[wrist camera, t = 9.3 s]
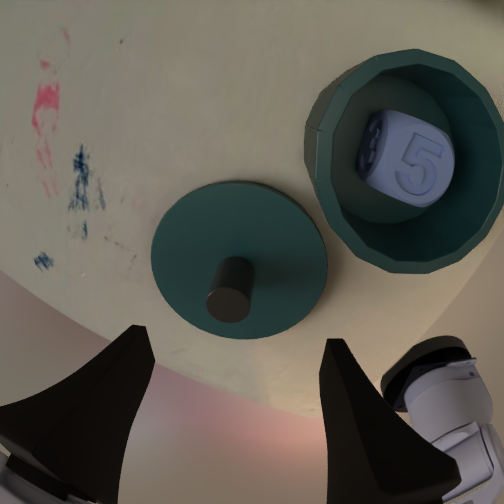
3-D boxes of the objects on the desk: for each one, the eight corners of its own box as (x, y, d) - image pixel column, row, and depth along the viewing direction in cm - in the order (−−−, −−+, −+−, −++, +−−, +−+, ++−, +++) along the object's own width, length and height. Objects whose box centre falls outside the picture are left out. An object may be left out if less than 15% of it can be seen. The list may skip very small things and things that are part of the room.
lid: (334, 182, 17) (351, 207, 13) (314, 332, 22) (319, 378, 18) (147, 179, 18) (111, 202, 14) (168, 323, 23) (149, 365, 19)
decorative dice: (428, 133, 14) (464, 142, 11) (409, 193, 16) (438, 215, 13) (370, 107, 14) (397, 108, 11) (351, 172, 16) (371, 190, 12)
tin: (463, 86, 13) (516, 87, 8) (444, 235, 18) (484, 275, 13) (305, 54, 14) (317, 30, 9) (299, 226, 18) (306, 271, 13)
